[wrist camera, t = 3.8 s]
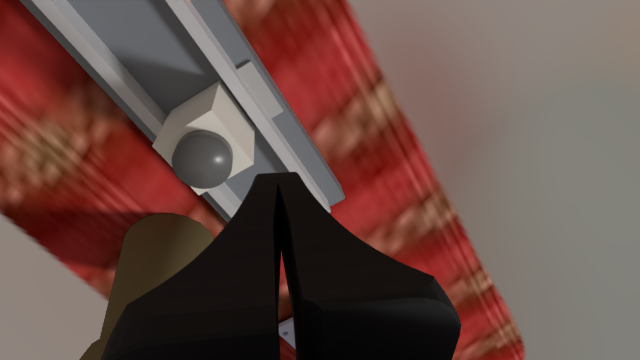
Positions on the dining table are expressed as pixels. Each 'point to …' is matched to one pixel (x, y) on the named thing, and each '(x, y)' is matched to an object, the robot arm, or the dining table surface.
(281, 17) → the dining table surface
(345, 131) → the dining table surface
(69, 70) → the dining table surface
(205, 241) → the brown tall tapered piece
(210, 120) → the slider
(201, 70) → the board
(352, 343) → the robot arm
